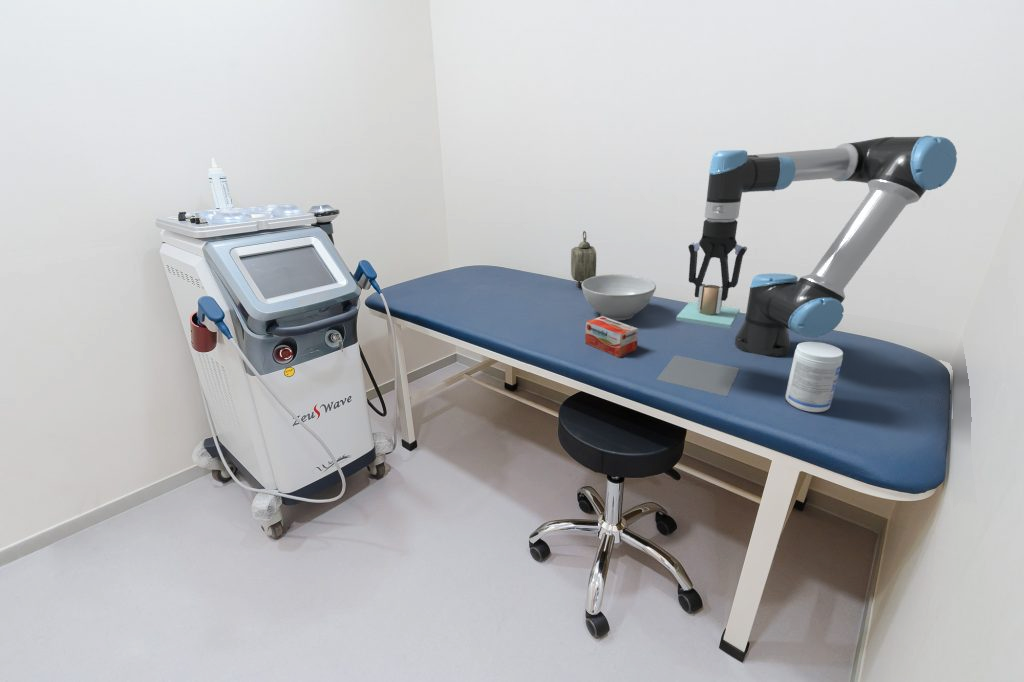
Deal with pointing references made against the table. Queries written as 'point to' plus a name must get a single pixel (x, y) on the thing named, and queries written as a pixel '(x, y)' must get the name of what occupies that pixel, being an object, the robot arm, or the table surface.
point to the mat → (699, 375)
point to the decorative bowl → (618, 295)
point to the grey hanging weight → (583, 261)
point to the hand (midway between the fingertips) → (708, 310)
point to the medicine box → (611, 336)
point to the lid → (709, 310)
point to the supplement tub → (813, 376)
